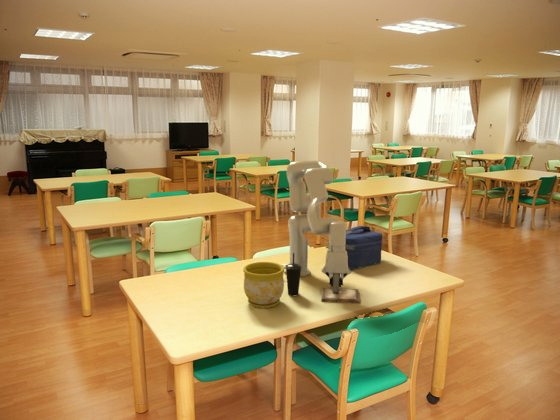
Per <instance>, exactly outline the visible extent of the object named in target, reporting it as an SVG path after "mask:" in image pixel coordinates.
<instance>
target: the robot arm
mask: <svg viewBox="0 0 560 420" xmlns="http://www.w3.org/2000/svg"><path fill="white" fill-rule="evenodd" d="M302 178H304V180H303V179H302ZM286 179H287V182H288V185H289V203H290V204H289V206H290V209H291V211H292V212H294V213H301V214H294V215H292V216H290V217H289V218H288V221H287V225H288V232H289V263H287V264H285V263H282V264H281V265H282V266H283V267H284V270H286V268H285V266H286V265H288V264H291V263H293V253H294V263H296V264H299V265H301V266H302V268H301V273H300V277H306V276H308V275H310V274H311V269H309V267H308V263H309V261H308V258H309V257H308V256H309V254H308V253H309V252H308V251H309V250H308V248H309V247H308V246H309V242H308V238H307V236H306V235H305V233H310V232H311V233H313V234H314V235H316V236H321V235H328V244H327V245H325V249H327V250H326V256H325V264H324V266H323V268H322V269H321V273H322V274H324V275H326V277H328V279H329V285H330V288H332V273H340V288H342V286H343V285H344V278H346V277H347V276H348V275H350V274H351V273H352V271H351V270H352V269H349V267H348V256H347V251H346V250H345V243H346V230H347V224H346V222H345V221H343V220H339V219H338V218H337V217H334V216H333V217H322V216H321V204H322V203H324V202H326V200H328V198H329V193H328V189H327V187H326V185H329V184H332V183H333V181H334V174H333V171H332V170H331V168H330V167H329V166H327V165H325V164H324V163H322V162H321V161H320V160H298V161H297V160H296V161H292V162H290V163H289V164H288V165H287V167H286ZM307 191H308V192H307ZM304 212H306V214H305V213H304ZM321 217H322V218H321Z"/></svg>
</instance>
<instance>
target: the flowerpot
mask: <svg viewBox="0 0 560 420" xmlns="http://www.w3.org/2000/svg"><path fill="white" fill-rule="evenodd" d="M242 269H243V270H242V271H243V273H244V274H243V276H244V277H243V290H244V293H245V296H246V297H247V301H248V303H249V305H250V306H251V307H254V308H257V309H262V308H265V309H271V307H272V308H274V307H276V306H277V305H278V304H279V303H280V302H281V297H282V295H283V293H284V289H285V283H284V282H285V281H284V272H285V269H284V267H283V266H282V264H280V263H277V262H271V261H270V262H269V261H257V262H252V263H248V264H247V265H245V266H244V267H243V268H242Z"/></svg>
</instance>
